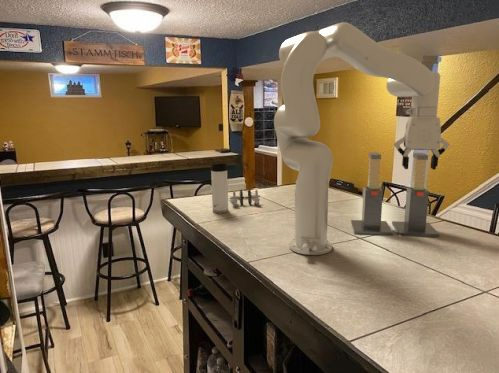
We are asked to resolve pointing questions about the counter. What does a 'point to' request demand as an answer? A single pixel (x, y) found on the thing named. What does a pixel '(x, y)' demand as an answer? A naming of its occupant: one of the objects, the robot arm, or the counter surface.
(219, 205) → the travel mug
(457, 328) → the counter surface
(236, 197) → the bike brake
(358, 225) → the sleeve
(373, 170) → the column
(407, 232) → the sleeve
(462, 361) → the counter surface
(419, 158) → the column
